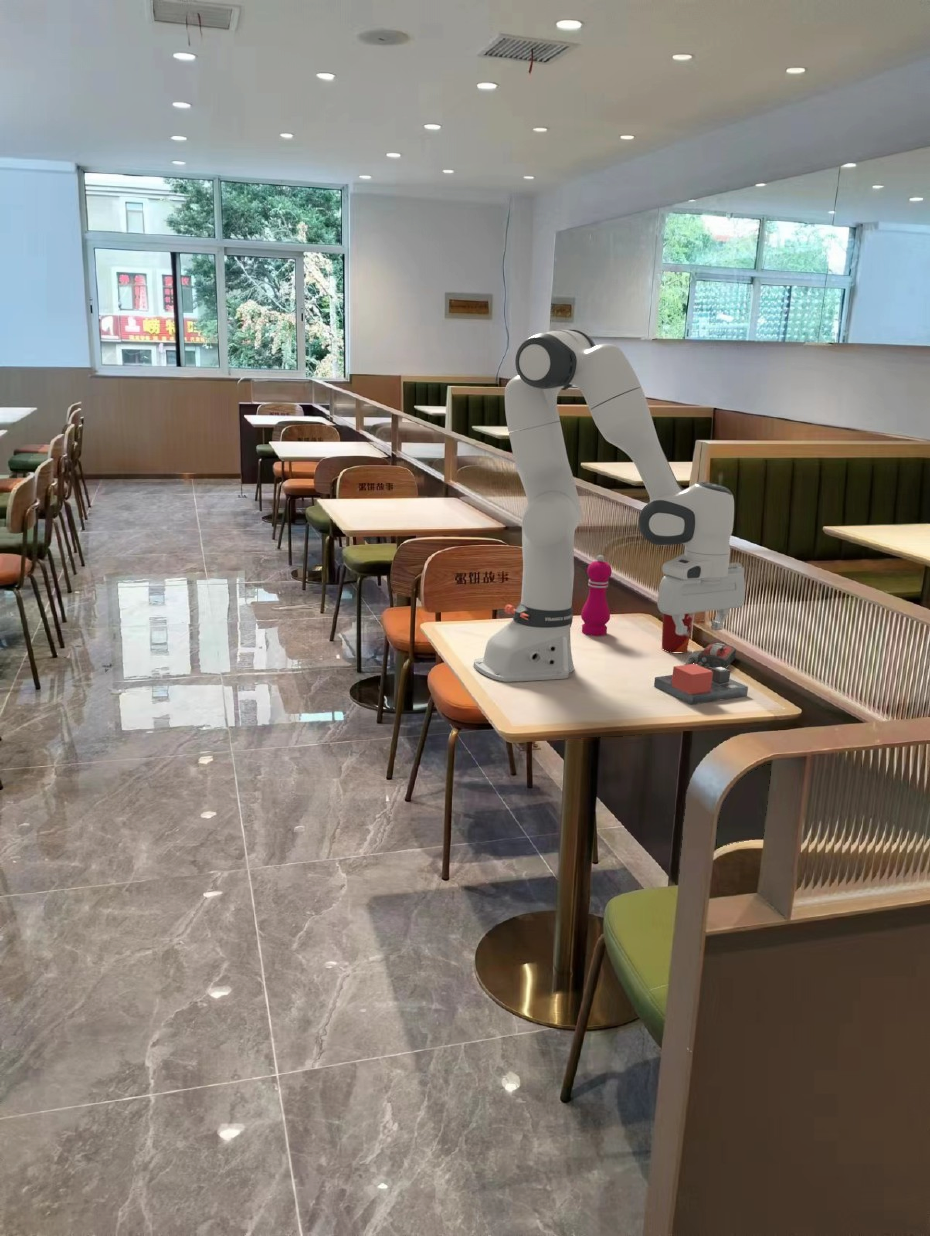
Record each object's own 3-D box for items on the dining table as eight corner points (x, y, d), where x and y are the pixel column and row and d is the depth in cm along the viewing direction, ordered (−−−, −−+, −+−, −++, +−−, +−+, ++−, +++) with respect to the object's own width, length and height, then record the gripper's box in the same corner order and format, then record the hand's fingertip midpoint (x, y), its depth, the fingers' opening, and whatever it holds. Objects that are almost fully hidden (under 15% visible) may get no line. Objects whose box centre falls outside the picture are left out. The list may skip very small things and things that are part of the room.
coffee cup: (694, 655, 228) (702, 594, 224) (660, 653, 228) (666, 592, 224) (687, 645, 236) (694, 586, 232) (654, 643, 236) (660, 584, 232)
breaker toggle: (719, 683, 201) (720, 671, 200) (709, 679, 204) (711, 667, 203) (729, 681, 202) (730, 669, 202) (719, 677, 205) (721, 665, 204)
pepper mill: (613, 632, 244) (620, 555, 239) (601, 638, 238) (608, 559, 233) (587, 627, 248) (593, 550, 243) (575, 632, 242) (581, 554, 237)
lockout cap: (689, 694, 194) (691, 674, 193) (671, 685, 199) (673, 666, 198) (710, 691, 197) (713, 671, 196) (692, 682, 201) (694, 663, 200)
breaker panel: (692, 704, 194) (693, 691, 193) (654, 686, 204) (655, 673, 203) (747, 695, 201) (748, 683, 200) (707, 678, 211) (709, 666, 211)
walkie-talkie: (700, 652, 232) (678, 673, 215) (702, 634, 231) (680, 654, 214) (737, 658, 229) (717, 680, 211) (739, 640, 227) (720, 661, 210)
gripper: (733, 558, 199) (726, 623, 202) (655, 565, 189) (649, 632, 192) (755, 564, 193) (748, 630, 197) (677, 571, 184) (670, 641, 187)
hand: (698, 632), depth 195 cm, fingers open, 8 cm apart
